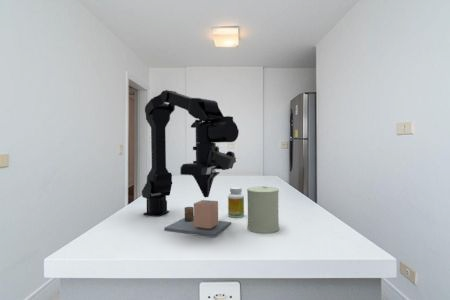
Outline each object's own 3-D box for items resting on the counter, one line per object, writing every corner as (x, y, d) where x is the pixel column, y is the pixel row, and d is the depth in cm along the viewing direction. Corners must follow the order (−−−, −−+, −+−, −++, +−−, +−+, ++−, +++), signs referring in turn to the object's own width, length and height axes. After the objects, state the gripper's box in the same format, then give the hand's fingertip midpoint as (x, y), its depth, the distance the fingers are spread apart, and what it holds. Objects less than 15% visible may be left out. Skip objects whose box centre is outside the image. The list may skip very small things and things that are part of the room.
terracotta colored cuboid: (194, 226, 74) (193, 203, 74) (202, 221, 79) (202, 200, 79) (210, 228, 72) (210, 204, 72) (218, 223, 77) (217, 201, 77)
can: (281, 225, 80) (280, 185, 79) (276, 234, 71) (276, 190, 71) (251, 222, 83) (251, 184, 82) (243, 231, 74) (243, 189, 74)
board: (164, 230, 75) (164, 227, 75) (185, 219, 87) (185, 217, 87) (214, 237, 69) (214, 234, 69) (231, 224, 80) (231, 222, 80)
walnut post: (182, 221, 82) (182, 208, 82) (187, 218, 84) (187, 206, 84) (190, 222, 81) (190, 209, 81) (195, 219, 83) (195, 207, 83)
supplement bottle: (242, 218, 87) (242, 189, 87) (226, 217, 88) (226, 188, 88) (244, 214, 93) (244, 186, 92) (229, 213, 94) (229, 186, 94)
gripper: (218, 142, 64) (218, 206, 64) (242, 142, 81) (243, 193, 81) (178, 142, 68) (179, 202, 68) (209, 143, 85) (210, 191, 86)
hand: (206, 197), depth 76 cm, fingers closed
